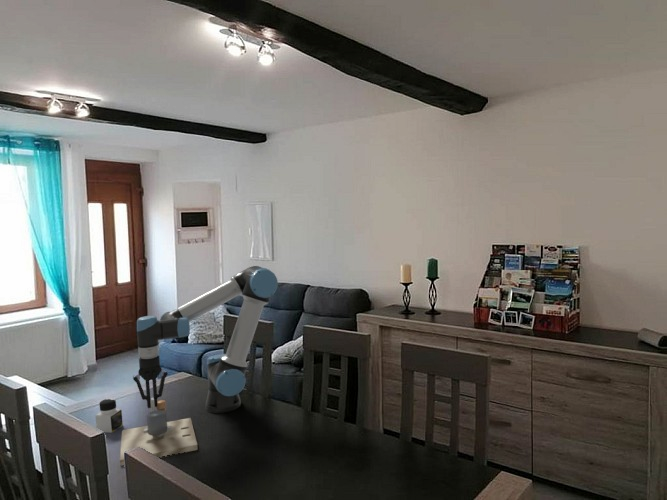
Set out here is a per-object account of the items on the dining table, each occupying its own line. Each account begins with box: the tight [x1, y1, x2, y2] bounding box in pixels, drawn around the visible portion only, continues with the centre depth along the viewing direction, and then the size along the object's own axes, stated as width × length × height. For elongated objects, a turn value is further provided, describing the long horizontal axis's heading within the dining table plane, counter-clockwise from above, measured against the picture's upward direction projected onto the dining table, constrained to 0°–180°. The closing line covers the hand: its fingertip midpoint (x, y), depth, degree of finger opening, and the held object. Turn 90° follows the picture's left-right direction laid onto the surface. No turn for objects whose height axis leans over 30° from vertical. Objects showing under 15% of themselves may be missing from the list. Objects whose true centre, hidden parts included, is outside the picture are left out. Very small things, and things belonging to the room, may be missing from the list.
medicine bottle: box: [95, 398, 124, 434], centre depth 204 cm, size 7×7×12 cm
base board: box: [119, 417, 198, 467], centre depth 190 cm, size 26×26×4 cm
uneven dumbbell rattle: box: [143, 399, 172, 435], centre depth 194 cm, size 10×16×7 cm, turn 11°
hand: (153, 415), depth 197 cm, fingers closed
